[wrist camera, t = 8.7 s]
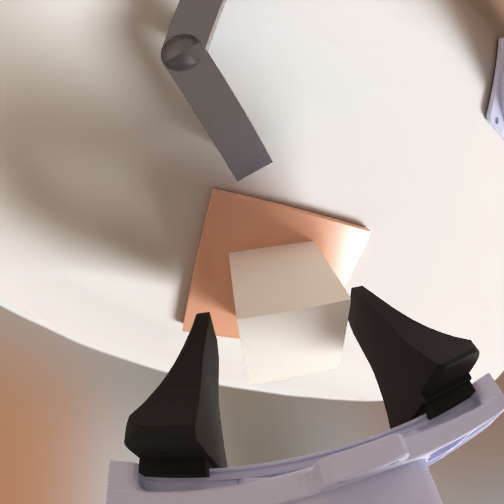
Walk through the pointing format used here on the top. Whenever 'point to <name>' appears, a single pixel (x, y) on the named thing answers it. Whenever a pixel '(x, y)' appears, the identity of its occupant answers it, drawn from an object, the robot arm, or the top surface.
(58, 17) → the top surface
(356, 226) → the terracotta tile
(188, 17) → the bent rail
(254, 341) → the cream block
